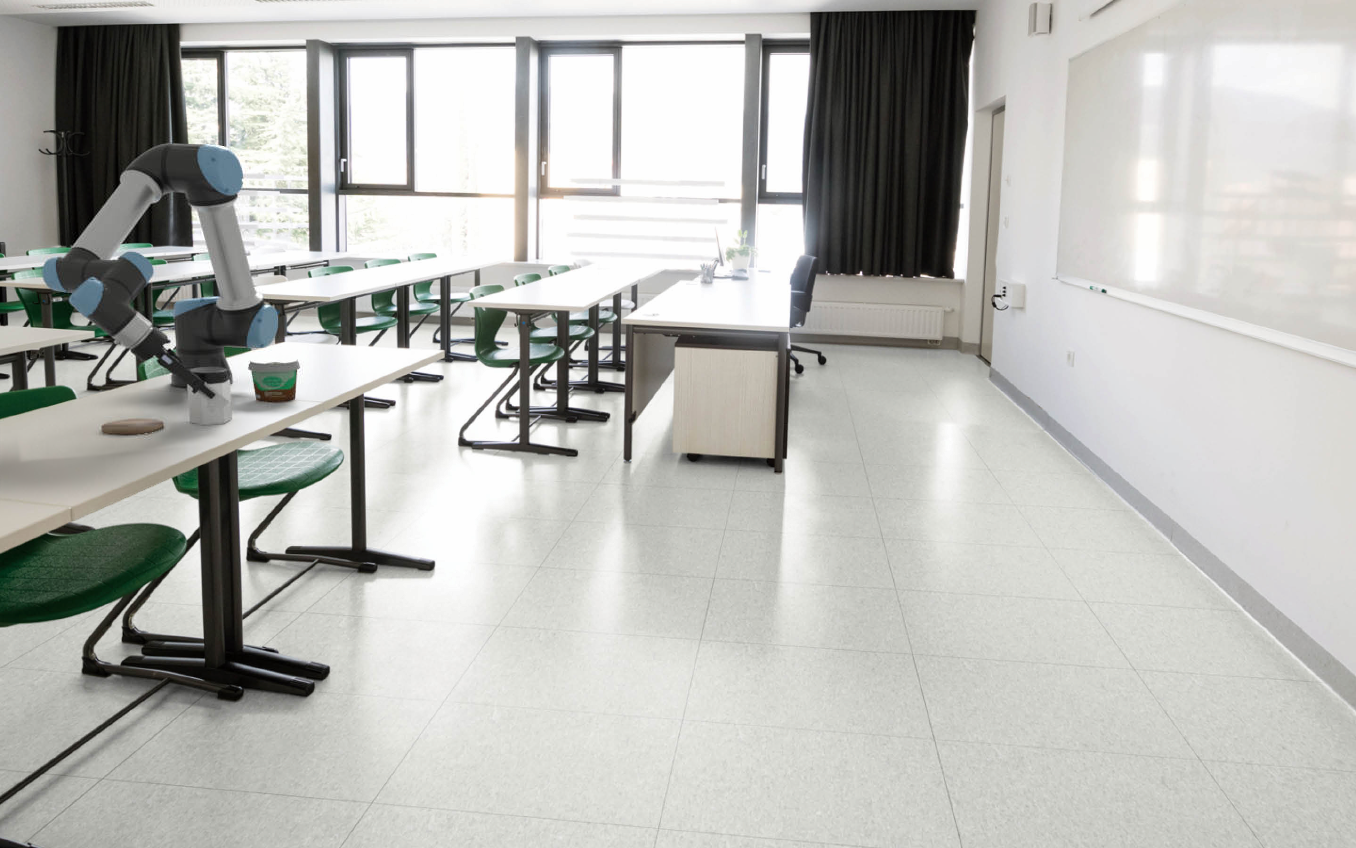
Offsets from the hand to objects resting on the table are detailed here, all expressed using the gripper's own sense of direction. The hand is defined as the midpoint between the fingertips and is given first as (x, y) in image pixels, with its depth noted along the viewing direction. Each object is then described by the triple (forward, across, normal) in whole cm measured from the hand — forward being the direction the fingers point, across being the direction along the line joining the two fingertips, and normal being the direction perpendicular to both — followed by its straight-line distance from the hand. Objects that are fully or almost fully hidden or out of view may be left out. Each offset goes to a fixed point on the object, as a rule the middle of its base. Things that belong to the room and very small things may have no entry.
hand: (219, 400), depth 232 cm
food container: (+15, -18, +8) cm, 25 cm away
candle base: (-9, +2, -16) cm, 19 cm away
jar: (+2, 0, -5) cm, 5 cm away
